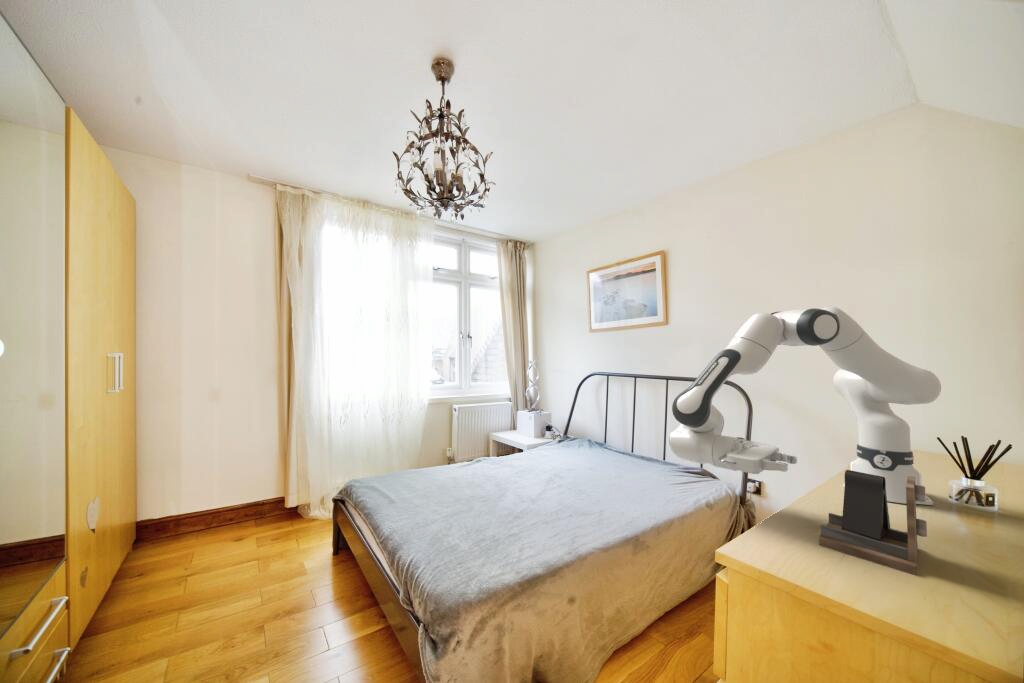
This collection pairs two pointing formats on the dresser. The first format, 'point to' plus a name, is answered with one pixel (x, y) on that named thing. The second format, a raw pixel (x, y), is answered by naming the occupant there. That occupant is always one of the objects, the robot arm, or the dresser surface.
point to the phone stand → (865, 505)
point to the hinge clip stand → (893, 547)
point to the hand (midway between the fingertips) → (792, 464)
